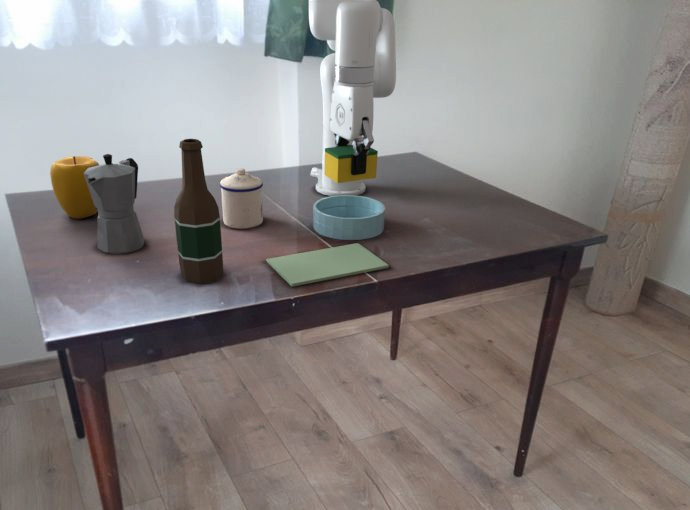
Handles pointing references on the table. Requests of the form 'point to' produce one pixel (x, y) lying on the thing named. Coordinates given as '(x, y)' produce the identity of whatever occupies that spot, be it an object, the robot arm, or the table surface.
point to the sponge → (347, 164)
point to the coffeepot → (115, 205)
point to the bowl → (348, 217)
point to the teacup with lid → (242, 200)
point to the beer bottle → (197, 220)
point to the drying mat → (325, 264)
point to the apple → (73, 186)
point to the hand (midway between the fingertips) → (350, 168)
